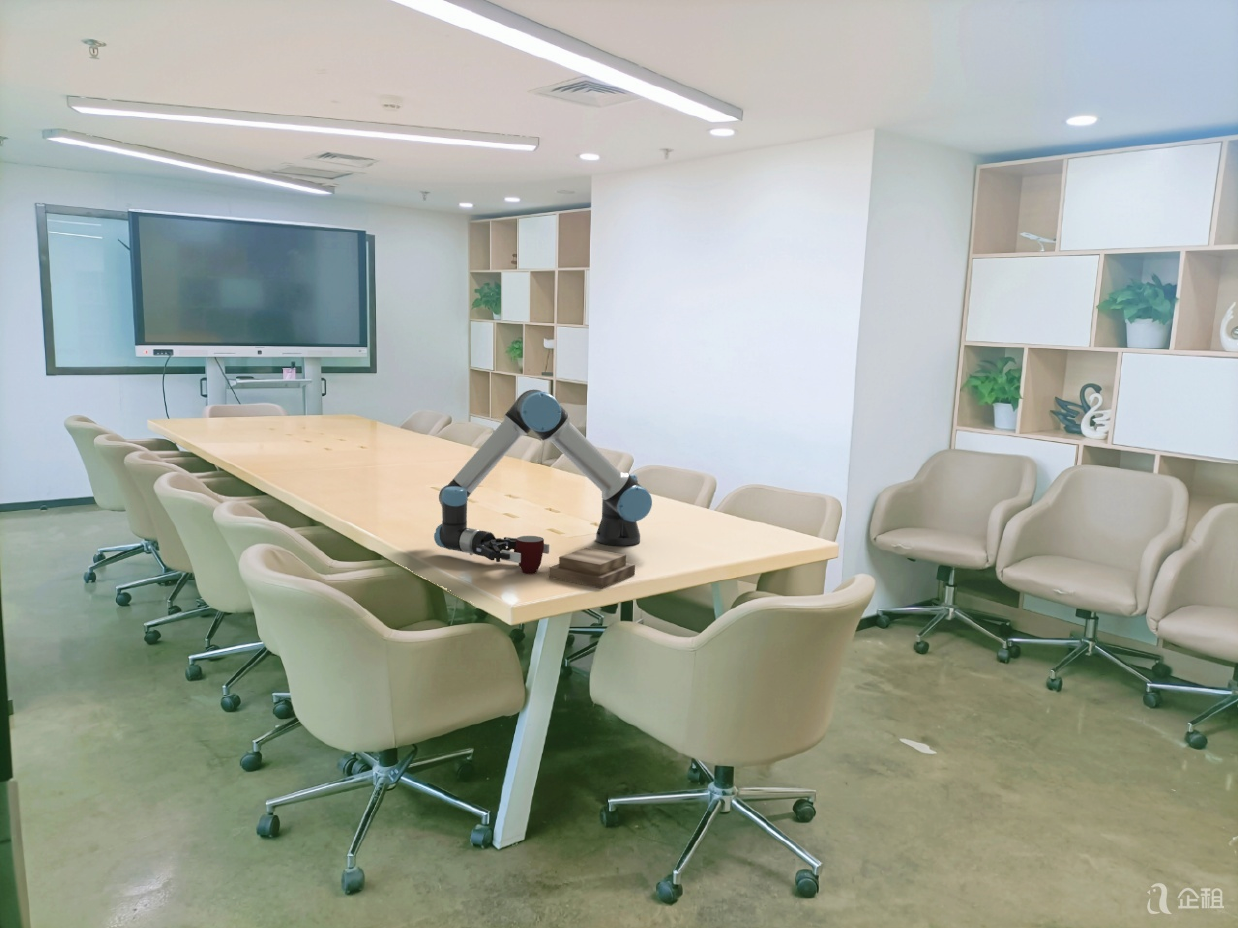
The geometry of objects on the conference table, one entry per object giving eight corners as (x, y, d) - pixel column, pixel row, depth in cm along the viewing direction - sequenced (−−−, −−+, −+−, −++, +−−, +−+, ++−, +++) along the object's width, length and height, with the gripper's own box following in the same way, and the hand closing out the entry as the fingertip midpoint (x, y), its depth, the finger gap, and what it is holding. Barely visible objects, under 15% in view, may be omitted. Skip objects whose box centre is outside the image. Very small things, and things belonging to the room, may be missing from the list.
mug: (503, 571, 253) (503, 537, 252) (521, 565, 260) (522, 533, 259) (531, 577, 248) (531, 543, 246) (548, 571, 254) (549, 538, 253)
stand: (583, 564, 264) (584, 545, 263) (634, 574, 254) (635, 554, 254) (549, 577, 248) (549, 557, 248) (601, 588, 239) (602, 567, 238)
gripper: (504, 546, 273) (559, 557, 262) (450, 562, 252) (507, 575, 241) (504, 523, 272) (559, 533, 261) (450, 537, 251) (507, 549, 240)
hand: (534, 553), depth 251 cm, fingers open, 13 cm apart
